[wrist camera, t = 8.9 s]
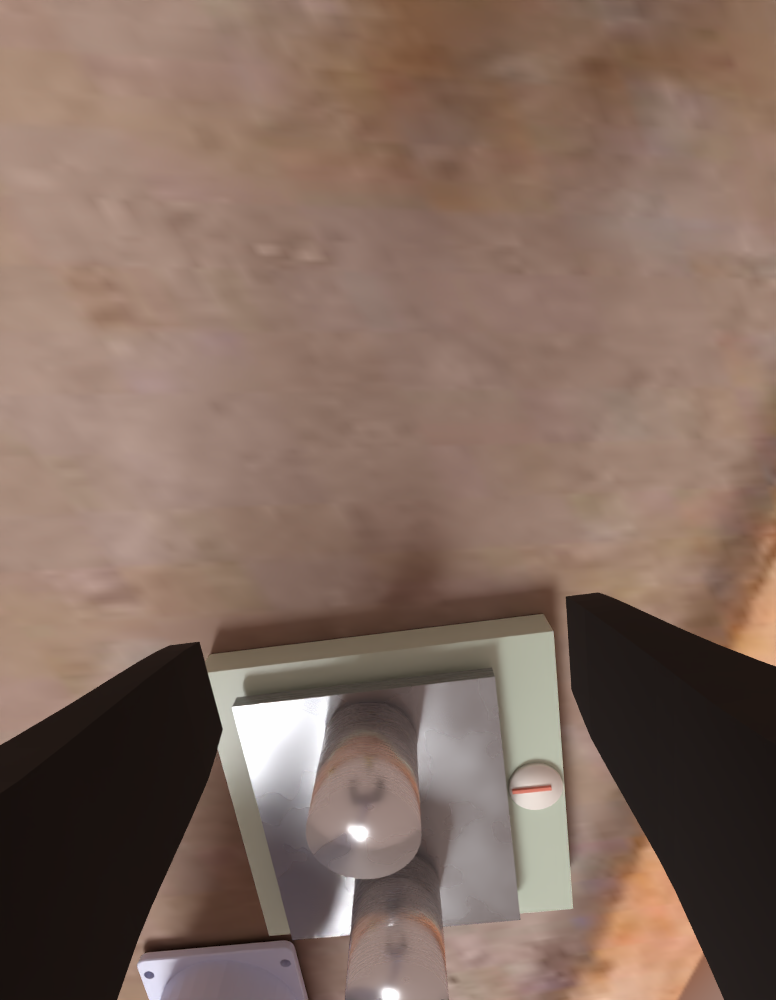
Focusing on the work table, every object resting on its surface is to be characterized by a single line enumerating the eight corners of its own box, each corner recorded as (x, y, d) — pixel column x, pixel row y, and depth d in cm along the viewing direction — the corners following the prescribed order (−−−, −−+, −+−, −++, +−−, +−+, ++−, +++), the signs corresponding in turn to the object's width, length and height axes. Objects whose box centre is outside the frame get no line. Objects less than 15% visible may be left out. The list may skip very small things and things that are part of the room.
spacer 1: (425, 770, 20) (433, 868, 16) (337, 787, 20) (323, 887, 16) (404, 692, 19) (406, 776, 15) (312, 712, 19) (291, 799, 15)
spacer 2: (444, 913, 22) (454, 1032, 18) (361, 921, 22) (354, 1040, 18) (433, 848, 21) (442, 958, 17) (347, 857, 21) (336, 967, 17)
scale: (563, 878, 24) (575, 915, 23) (276, 905, 25) (267, 943, 23) (543, 613, 21) (556, 635, 19) (210, 654, 21) (194, 678, 20)
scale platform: (512, 884, 23) (520, 919, 22) (298, 904, 24) (292, 940, 22) (487, 653, 20) (494, 676, 19) (243, 682, 21) (231, 707, 19)
